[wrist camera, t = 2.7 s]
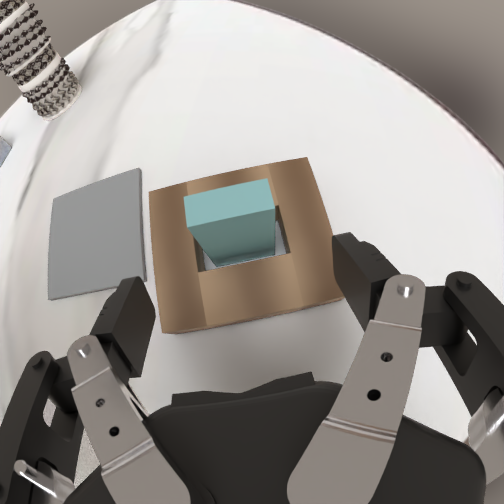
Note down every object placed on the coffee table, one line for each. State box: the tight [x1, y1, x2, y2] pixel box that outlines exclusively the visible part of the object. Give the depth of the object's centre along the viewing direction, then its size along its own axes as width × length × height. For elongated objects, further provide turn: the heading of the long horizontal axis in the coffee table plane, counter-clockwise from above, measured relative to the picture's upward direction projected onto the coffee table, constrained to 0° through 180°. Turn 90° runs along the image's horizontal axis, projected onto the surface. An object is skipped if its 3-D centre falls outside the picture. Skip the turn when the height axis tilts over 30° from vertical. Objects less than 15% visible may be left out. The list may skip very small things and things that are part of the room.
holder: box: [149, 157, 345, 334], centre depth 23 cm, size 14×12×3 cm
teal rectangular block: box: [184, 178, 275, 267], centre depth 20 cm, size 5×2×9 cm, turn 102°
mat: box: [48, 168, 147, 300], centre depth 26 cm, size 12×12×1 cm
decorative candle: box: [0, 0, 82, 121], centre depth 23 cm, size 9×9×25 cm
